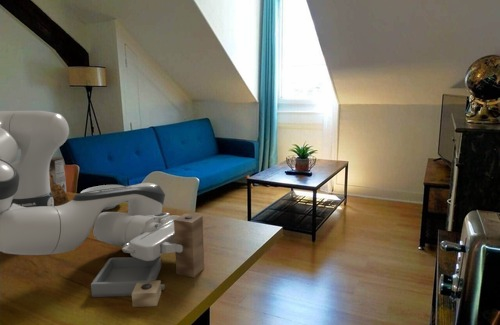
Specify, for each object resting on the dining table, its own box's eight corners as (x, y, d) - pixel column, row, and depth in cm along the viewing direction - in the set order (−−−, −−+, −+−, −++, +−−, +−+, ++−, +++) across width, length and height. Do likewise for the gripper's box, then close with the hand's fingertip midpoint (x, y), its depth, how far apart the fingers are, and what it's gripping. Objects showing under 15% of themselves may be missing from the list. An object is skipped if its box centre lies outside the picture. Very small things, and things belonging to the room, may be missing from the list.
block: (176, 273, 87) (173, 219, 84) (187, 264, 92) (185, 213, 89) (194, 277, 85) (191, 222, 82) (204, 268, 90) (202, 215, 87)
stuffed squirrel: (47, 203, 144) (43, 171, 142) (77, 205, 142) (74, 173, 139) (27, 210, 135) (23, 177, 132) (60, 213, 132) (56, 179, 130)
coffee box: (39, 194, 156) (34, 159, 153) (49, 190, 163) (45, 156, 159) (57, 195, 155) (53, 159, 152) (67, 191, 161) (63, 157, 158)
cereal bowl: (94, 200, 148) (92, 184, 146) (133, 200, 147) (132, 184, 146) (73, 214, 131) (71, 195, 130) (117, 214, 130) (115, 196, 129)
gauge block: (130, 306, 73) (129, 293, 73) (138, 289, 80) (137, 276, 80) (159, 305, 74) (158, 292, 73) (165, 288, 81) (164, 275, 80)
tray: (92, 297, 77) (90, 284, 76) (110, 269, 89) (109, 257, 89) (150, 295, 78) (149, 282, 77) (161, 267, 90) (160, 256, 90)
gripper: (116, 236, 81) (166, 246, 76) (168, 210, 100) (211, 216, 95) (118, 262, 83) (167, 272, 78) (169, 231, 101) (212, 238, 96)
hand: (192, 241), depth 86 cm, fingers open, 7 cm apart
